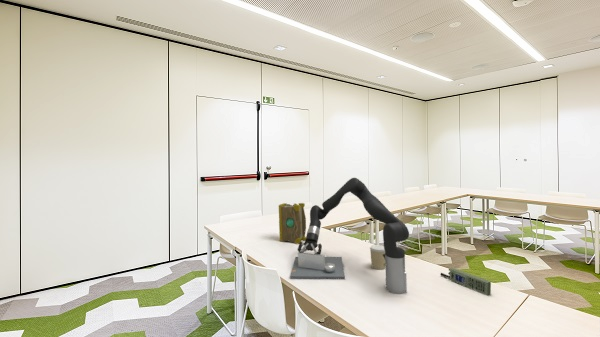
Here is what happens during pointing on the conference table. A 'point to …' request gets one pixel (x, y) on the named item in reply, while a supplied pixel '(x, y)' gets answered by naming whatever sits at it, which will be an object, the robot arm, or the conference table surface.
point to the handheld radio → (469, 281)
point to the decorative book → (292, 222)
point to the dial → (314, 262)
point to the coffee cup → (377, 257)
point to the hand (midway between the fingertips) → (307, 259)
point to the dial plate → (318, 270)
